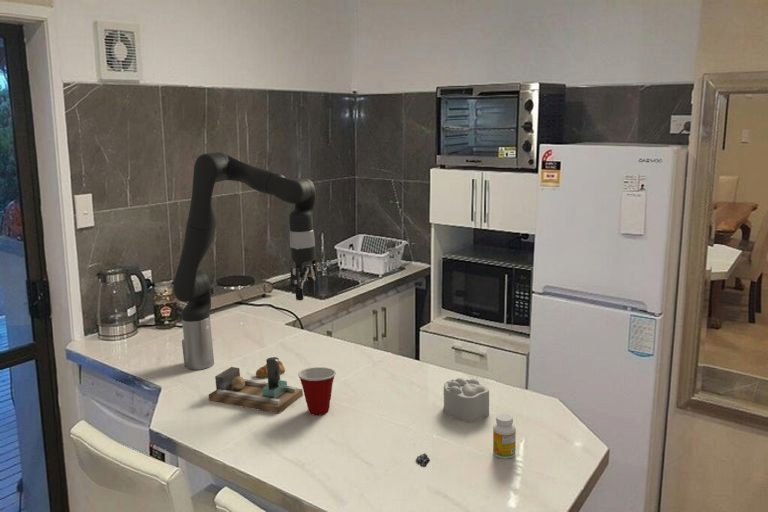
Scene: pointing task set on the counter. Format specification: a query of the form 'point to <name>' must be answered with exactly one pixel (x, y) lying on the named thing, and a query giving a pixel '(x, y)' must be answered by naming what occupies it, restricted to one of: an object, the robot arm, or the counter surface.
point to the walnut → (238, 383)
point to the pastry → (263, 370)
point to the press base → (250, 393)
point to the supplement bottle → (504, 437)
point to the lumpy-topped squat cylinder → (466, 400)
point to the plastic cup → (317, 388)
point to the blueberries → (423, 460)
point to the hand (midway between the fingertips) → (305, 296)
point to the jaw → (274, 380)
